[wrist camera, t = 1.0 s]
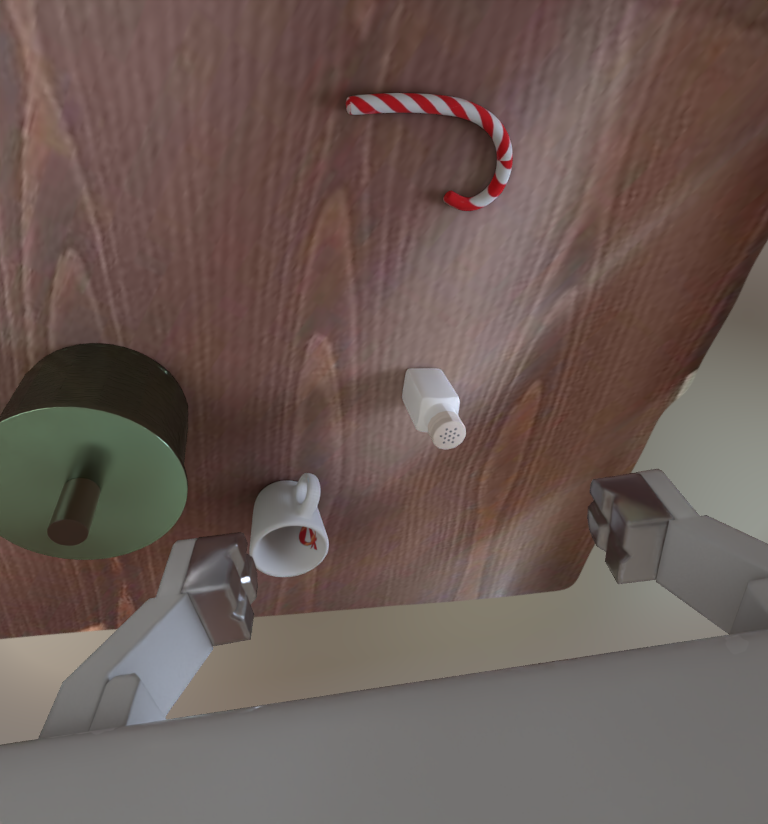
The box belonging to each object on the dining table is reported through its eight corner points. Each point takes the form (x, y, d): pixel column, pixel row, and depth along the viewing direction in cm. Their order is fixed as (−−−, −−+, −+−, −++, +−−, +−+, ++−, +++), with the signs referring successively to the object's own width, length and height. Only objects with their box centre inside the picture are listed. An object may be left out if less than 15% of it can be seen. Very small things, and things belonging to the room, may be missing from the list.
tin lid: (-54, 522, 43) (-88, 581, 38) (0, 365, 37) (-33, 412, 32) (147, 565, 50) (139, 619, 45) (219, 439, 44) (218, 486, 39)
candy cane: (361, 53, 39) (533, 128, 44) (357, 53, 40) (526, 126, 46) (329, 166, 43) (492, 222, 48) (327, 163, 44) (487, 218, 49)
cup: (275, 442, 58) (280, 494, 51) (342, 462, 61) (355, 512, 55) (236, 515, 62) (237, 571, 55) (301, 529, 65) (309, 583, 59)
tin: (0, 443, 51) (-46, 525, 42) (47, 316, 45) (5, 380, 37) (155, 486, 57) (142, 564, 49) (212, 380, 52) (208, 447, 43)
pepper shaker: (399, 399, 58) (425, 454, 50) (404, 365, 56) (432, 418, 48) (435, 398, 59) (465, 452, 51) (441, 365, 57) (474, 417, 49)
